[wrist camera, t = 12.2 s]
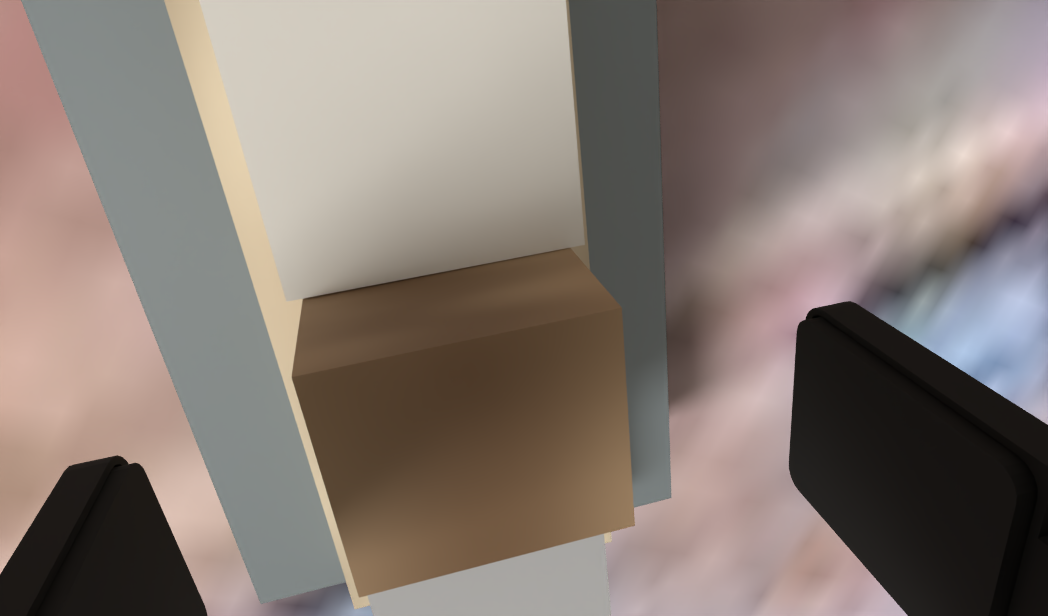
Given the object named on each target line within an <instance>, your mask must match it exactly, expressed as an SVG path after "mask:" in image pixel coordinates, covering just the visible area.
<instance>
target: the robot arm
mask: <svg viewBox="0 0 1048 616" xmlns="http://www.w3.org/2000/svg"><path fill="white" fill-rule="evenodd" d="M789 470H790V475H791V478H792V480H793V482H794V484H795V486H796V487H797V489H798V490H799V491H800V493H801V494H802V495H803V496H804V497H805V498H806V499H807V501H808V502H809V503H810V504H811V505H812V506H813V507H814V509H815V510H816V511H817V512H818V513H819V514H820V515H821V517H822V518H823V519H824V520H825V521H826V522H827V523H828V525H829V526H830V527H831V528H832V529H833V530H834V531H835V533H836V534H837V535H838V536H839V537H840V538H841V539H842V541H843V542H844V543H845V544H846V545H847V546H848V548H849V549H850V550H851V551H852V552H853V553H854V554H855V556H856V557H857V558H858V559H859V560H860V561H861V562H862V564H863V565H864V566H865V567H866V568H867V569H868V570H869V572H870V573H871V574H872V575H873V576H874V577H875V578H876V580H877V581H878V582H879V583H880V584H881V585H882V586H883V588H884V589H885V590H886V591H887V592H888V593H889V594H890V596H891V597H892V598H893V599H894V600H895V601H896V602H897V604H898V605H899V606H900V607H901V608H902V609H903V610H904V612H905V613H906V614H907V615H908V616H1048V425H1047V424H1045V423H1044V422H1042V421H1041V420H1039V419H1037V418H1036V417H1034V416H1033V415H1031V414H1030V413H1028V412H1026V411H1025V410H1023V409H1022V408H1020V407H1019V406H1017V405H1015V404H1014V403H1012V402H1011V401H1009V400H1008V399H1006V398H1004V397H1003V396H1001V395H1000V394H998V393H996V392H995V391H993V390H992V389H990V388H989V387H987V386H985V385H984V384H982V383H981V382H979V381H978V380H976V379H974V378H973V377H971V376H970V375H968V374H966V373H965V372H963V371H962V370H960V369H959V368H957V367H955V366H954V365H952V364H951V363H949V362H948V361H946V360H944V359H943V358H941V357H940V356H938V355H936V354H935V353H933V352H932V351H930V350H929V349H927V348H925V347H924V346H922V345H921V344H919V343H918V342H916V341H914V340H913V339H911V338H910V337H908V336H906V335H905V334H903V333H902V332H900V331H899V330H897V329H895V328H894V327H892V326H891V325H889V324H888V323H886V322H884V321H883V320H881V319H880V318H878V317H876V316H875V315H873V314H872V313H870V312H869V311H867V310H865V309H864V308H862V307H861V306H859V305H858V304H856V303H853V302H851V301H848V302H842V303H837V304H832V305H828V306H823V307H818V308H813V309H812V310H810V311H809V312H808V314H807V316H806V320H803V321H802V322H800V323H799V325H798V328H797V338H796V355H795V371H794V388H793V404H792V421H791V437H790V454H789ZM0 616H207V612H206V608H205V605H204V603H203V601H202V599H201V596H200V594H199V592H198V590H197V587H196V585H195V583H194V581H193V578H192V576H191V574H190V572H189V569H188V567H187V565H186V563H185V560H184V558H183V556H182V554H181V551H180V549H179V547H178V545H177V542H176V540H175V538H174V536H173V533H172V531H171V529H170V527H169V524H168V522H167V520H166V518H165V515H164V513H163V511H162V509H161V506H160V504H159V502H158V500H157V497H156V495H155V493H154V491H153V488H152V486H151V484H150V482H149V479H148V477H147V475H146V473H145V471H144V469H143V467H142V466H141V465H140V464H138V463H133V464H128V462H127V461H126V460H125V459H124V458H123V457H121V456H113V457H108V458H103V459H98V460H94V461H89V462H84V463H80V464H75V465H72V466H69V467H68V468H67V469H66V470H65V471H64V473H63V474H62V476H61V477H60V479H59V481H58V482H57V484H56V485H55V487H54V489H53V490H52V492H51V494H50V495H49V497H48V498H47V500H46V502H45V503H44V505H43V506H42V508H41V510H40V511H39V513H38V514H37V516H36V518H35V519H34V521H33V523H32V524H31V526H30V527H29V529H28V531H27V532H26V534H25V535H24V537H23V539H22V540H21V542H20V543H19V545H18V547H17V548H16V550H15V552H14V553H13V555H12V556H11V558H10V560H9V561H8V563H7V564H6V566H5V568H4V569H3V571H2V572H1V574H0Z"/></svg>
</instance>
